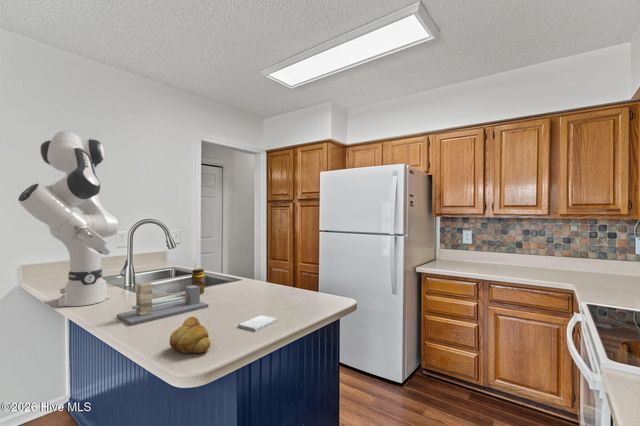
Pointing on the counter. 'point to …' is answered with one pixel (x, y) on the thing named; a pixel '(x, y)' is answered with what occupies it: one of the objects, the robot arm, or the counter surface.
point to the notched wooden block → (144, 298)
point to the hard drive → (257, 323)
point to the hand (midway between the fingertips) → (105, 253)
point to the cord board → (166, 307)
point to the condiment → (198, 279)
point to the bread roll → (190, 337)
